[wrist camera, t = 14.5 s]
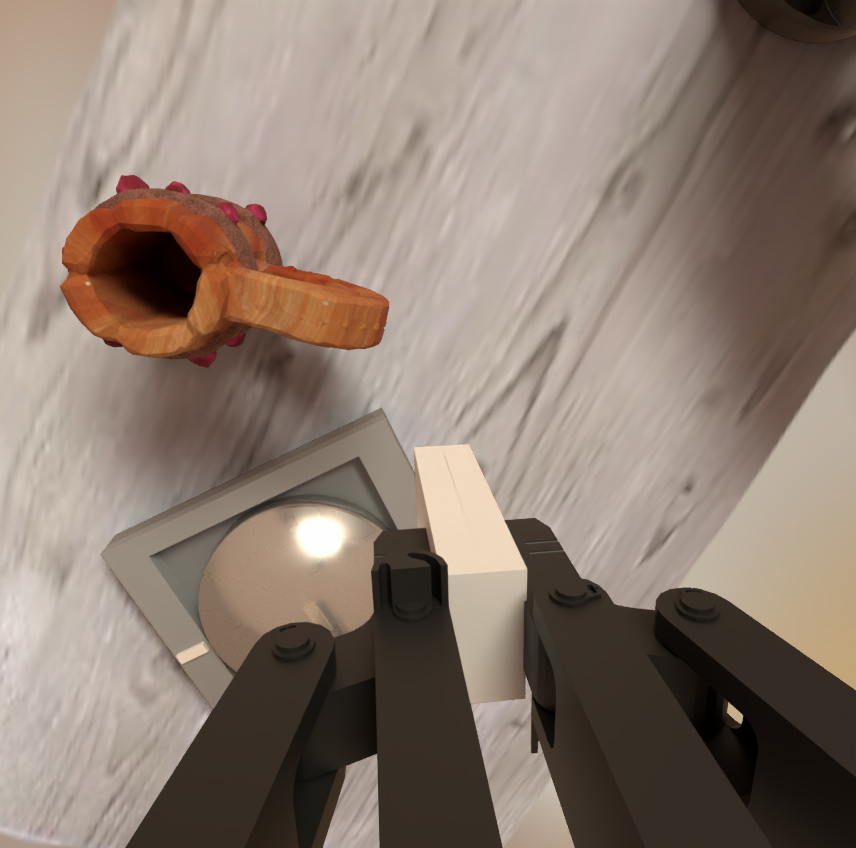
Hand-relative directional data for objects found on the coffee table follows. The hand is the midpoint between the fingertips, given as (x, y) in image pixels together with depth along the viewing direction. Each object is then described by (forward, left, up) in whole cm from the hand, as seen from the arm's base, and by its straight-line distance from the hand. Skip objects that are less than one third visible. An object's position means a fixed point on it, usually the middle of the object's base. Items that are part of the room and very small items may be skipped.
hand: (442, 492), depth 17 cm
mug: (+5, -7, -25) cm, 27 cm away
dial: (+12, +13, -23) cm, 29 cm away
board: (+12, +13, -25) cm, 31 cm away
